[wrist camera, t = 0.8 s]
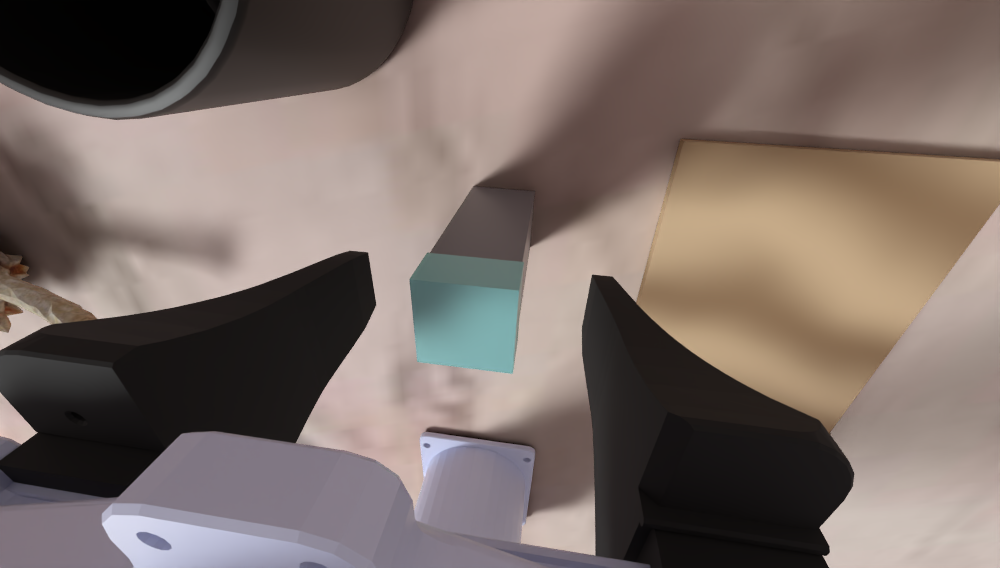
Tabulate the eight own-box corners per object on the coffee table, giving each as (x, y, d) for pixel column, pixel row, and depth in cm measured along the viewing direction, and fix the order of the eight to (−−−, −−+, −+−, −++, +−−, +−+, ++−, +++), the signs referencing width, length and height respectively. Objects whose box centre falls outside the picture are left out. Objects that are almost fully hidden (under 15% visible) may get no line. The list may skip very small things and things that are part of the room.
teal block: (530, 248, 19) (512, 374, 11) (472, 243, 19) (417, 361, 12) (535, 190, 17) (519, 291, 10) (472, 185, 17) (409, 279, 10)
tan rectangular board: (815, 439, 22) (820, 447, 22) (605, 411, 24) (606, 418, 23) (1016, 160, 14) (1032, 164, 14) (679, 138, 15) (682, 141, 15)
